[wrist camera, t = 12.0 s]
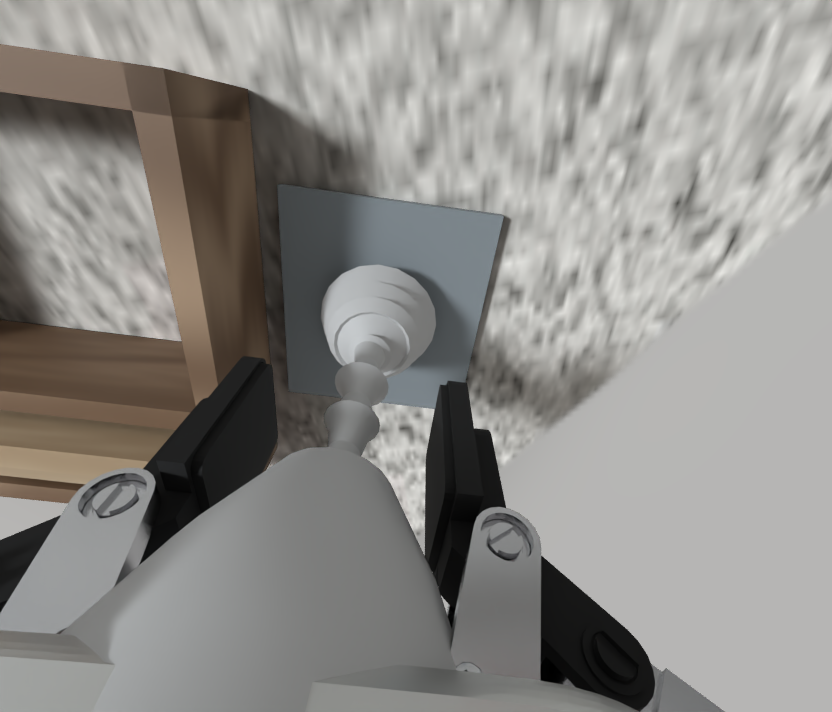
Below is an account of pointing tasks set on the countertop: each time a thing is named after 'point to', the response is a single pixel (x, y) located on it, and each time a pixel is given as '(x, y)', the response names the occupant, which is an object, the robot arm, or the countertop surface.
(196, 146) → the frame
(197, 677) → the chalice
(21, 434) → the offcut stack
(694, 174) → the countertop surface
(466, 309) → the mat
